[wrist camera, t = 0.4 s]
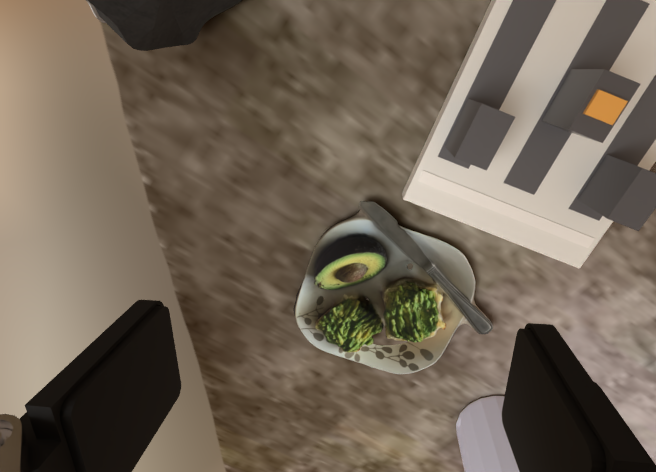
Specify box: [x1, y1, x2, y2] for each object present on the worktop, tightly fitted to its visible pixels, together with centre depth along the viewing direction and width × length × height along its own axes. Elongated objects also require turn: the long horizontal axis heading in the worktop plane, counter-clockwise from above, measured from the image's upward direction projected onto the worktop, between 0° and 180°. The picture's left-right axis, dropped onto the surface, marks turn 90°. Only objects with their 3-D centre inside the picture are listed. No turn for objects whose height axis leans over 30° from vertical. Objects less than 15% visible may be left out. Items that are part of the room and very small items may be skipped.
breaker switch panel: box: [402, 0, 656, 269], centre depth 30 cm, size 24×17×7 cm
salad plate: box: [294, 201, 493, 374], centre depth 40 cm, size 19×18×5 cm
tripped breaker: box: [542, 69, 640, 143], centre depth 29 cm, size 4×2×5 cm, turn 160°
